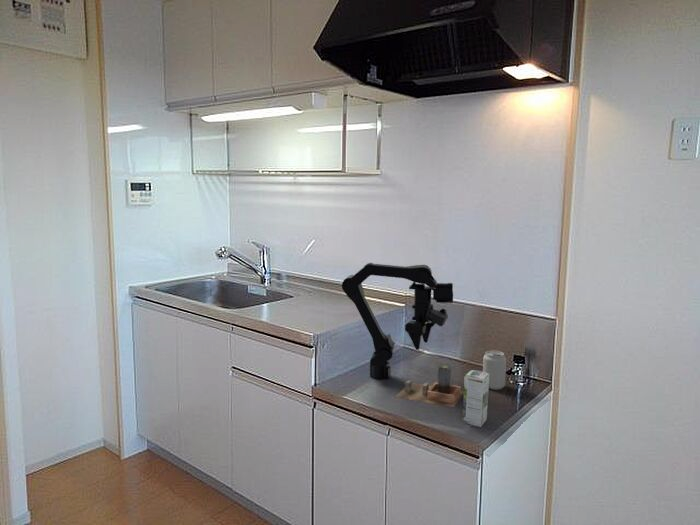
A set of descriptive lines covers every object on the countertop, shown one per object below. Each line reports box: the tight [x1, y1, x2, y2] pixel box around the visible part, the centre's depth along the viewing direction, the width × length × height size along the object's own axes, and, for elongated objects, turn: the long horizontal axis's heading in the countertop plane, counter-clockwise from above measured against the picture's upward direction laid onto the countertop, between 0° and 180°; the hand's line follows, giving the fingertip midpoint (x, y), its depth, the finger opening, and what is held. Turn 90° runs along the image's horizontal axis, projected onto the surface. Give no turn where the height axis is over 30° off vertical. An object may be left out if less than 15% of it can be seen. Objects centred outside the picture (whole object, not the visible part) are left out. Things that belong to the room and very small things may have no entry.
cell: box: [437, 365, 452, 394], centre depth 166 cm, size 4×4×10 cm
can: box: [482, 350, 507, 391], centre depth 177 cm, size 8×8×12 cm
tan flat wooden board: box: [395, 379, 464, 408], centre depth 168 cm, size 19×14×4 cm
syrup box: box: [461, 369, 490, 428], centre depth 150 cm, size 6×6×14 cm
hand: (421, 345), depth 180 cm, fingers open, 9 cm apart
